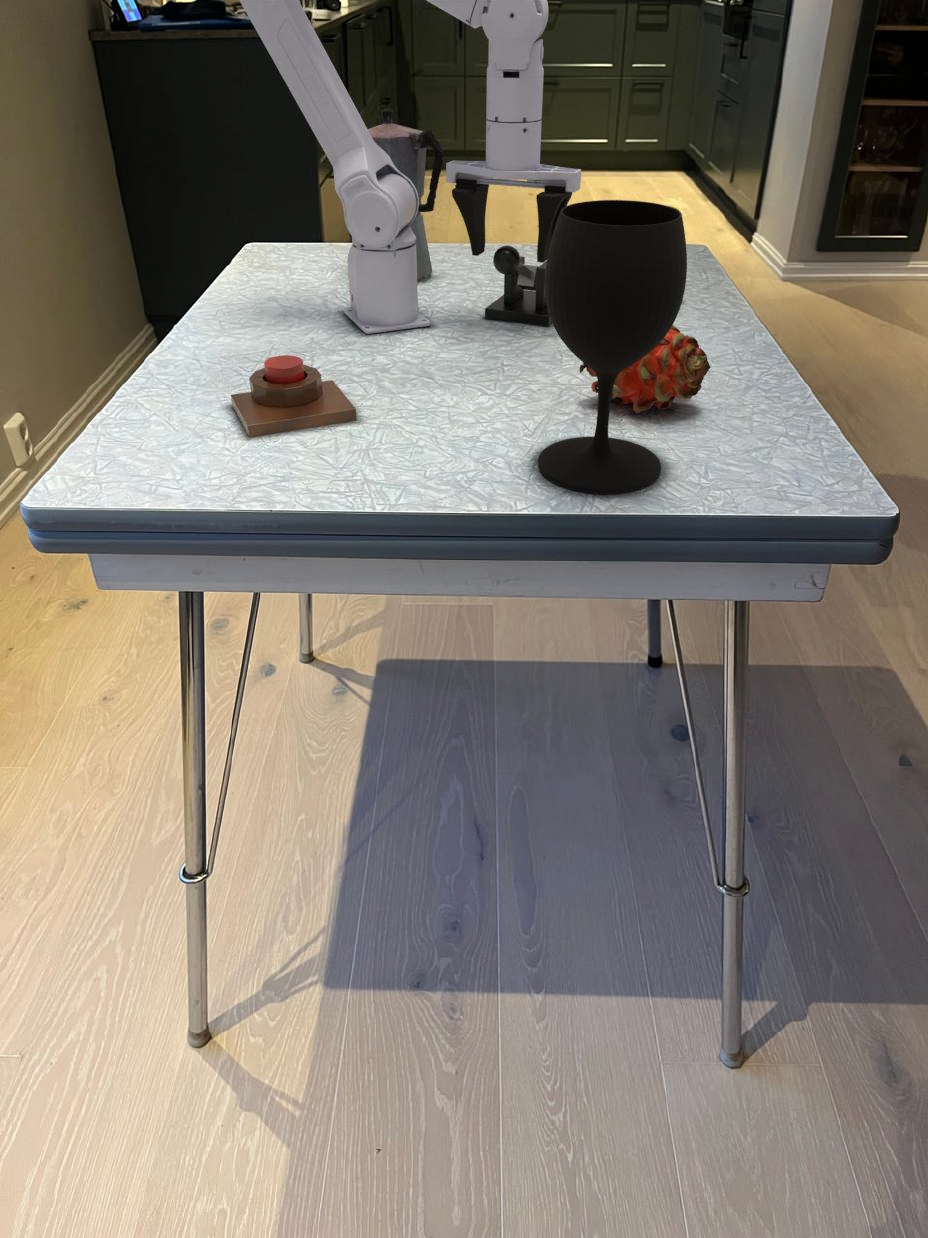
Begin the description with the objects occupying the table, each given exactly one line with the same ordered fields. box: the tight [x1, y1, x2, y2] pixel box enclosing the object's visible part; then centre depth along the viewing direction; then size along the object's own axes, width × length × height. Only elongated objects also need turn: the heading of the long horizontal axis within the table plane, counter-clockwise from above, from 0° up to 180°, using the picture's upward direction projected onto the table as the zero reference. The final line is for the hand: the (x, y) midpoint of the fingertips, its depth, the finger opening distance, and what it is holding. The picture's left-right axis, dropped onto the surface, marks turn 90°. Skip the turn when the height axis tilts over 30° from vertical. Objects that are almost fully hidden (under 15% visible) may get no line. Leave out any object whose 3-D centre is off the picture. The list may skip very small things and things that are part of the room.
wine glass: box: [537, 199, 688, 495], centre depth 73 cm, size 10×10×20 cm
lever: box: [492, 244, 539, 291], centre depth 108 cm, size 12×3×3 cm, turn 157°
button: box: [263, 354, 305, 384], centre depth 88 cm, size 4×4×2 cm
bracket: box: [484, 255, 552, 327], centre depth 113 cm, size 9×8×6 cm
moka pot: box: [367, 108, 444, 280], centre depth 122 cm, size 10×15×20 cm, turn 54°
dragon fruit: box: [579, 324, 712, 414], centre depth 88 cm, size 8×8×12 cm
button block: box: [230, 364, 358, 439], centre depth 88 cm, size 10×9×3 cm
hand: (510, 256), depth 105 cm, fingers open, 7 cm apart
